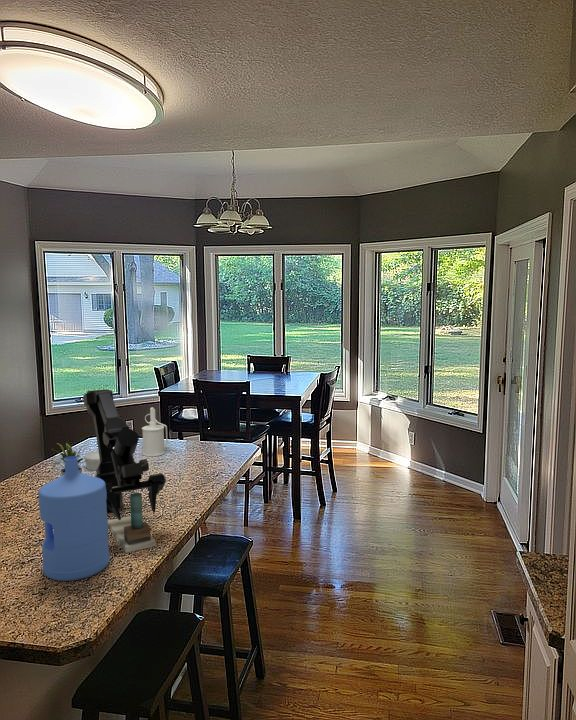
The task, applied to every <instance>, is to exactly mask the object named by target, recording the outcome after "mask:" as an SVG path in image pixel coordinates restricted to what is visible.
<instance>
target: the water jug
mask: <svg viewBox="0 0 576 720" xmlns="http://www.w3.org/2000/svg"><path fill="white" fill-rule="evenodd" d="M64 460H65V464H64V465H65V466H64V468H65V474H64V475H63V476H62V475H61V476H59V477H58V478H57V477H56V478H55V479H53V480H52V481H49V482H47V483H45V484H44V485H42V486H41V487H40V489H39V490H38V508H39V516H40V517H39V519H40V520H41V521H43V522H44V536H45V538H44V540H43V542H42V544H41V549H42V550H41V552H42V553H41V554H42V562H41V563H42V572H43V574H44V575H45V576H46V577H47V578H49V579H51V580H54V581H59V582H60V581H61V582H71V581H79V580H84V579H86V578H90V577H93V576H94V575H96V574H99V573H100V572H101V571H103V570H104V569H105V568H106V567H107V566H108V565H109V562H110V560H111V558H110V549H109V527H108V520H109V519H108V512H107V505H106V499H107V492H106V485H105V482H104V481H103V480H102V479H100V478H97V477H95V476H93V475H89V474H86V473H85V474H84V473H83V472H82V473H79V471H78V466H79V465H80V464H79V463H78V460H79V457H77V455H76V456H70V457H66V458H64ZM79 467H80V466H79Z"/></svg>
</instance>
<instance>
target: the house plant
mask: <svg viewBox="0 0 576 720" xmlns="http://www.w3.org/2000/svg"><path fill="white" fill-rule="evenodd" d="M56 444H57V445H58V446H60V449H61V450H62V452H59V455H60V456H61V457H60V458H59V460H62V461H63V462H61V461H57V462H54V464H53V465H52V467H53V466H56V465H57V464H58V465H60V466H62V465H61V464H63V465H64V466H62V467H63V468H62V469H61V470H60V474H61V476H63V475H64V474H65V460H64V458H66V457H70V456H77V457H78V464H79V463H81V464H83V463H84V462H85V459H84V457H83V458H79V457H80V456H82V455H83V454H82V453H83V452H84V451H85V450H86V449H88V448H89V447H91V446H86V447H85V448H84V449H83V450H82V448H83V446H84V445H81V447H80V448H79V450H78V452H77V451H73V448H72V447H73V445H69V444H68V442H66V443H65V448H66V449H65V448H64V446H63V445H62V444H60V443H57V442H56ZM81 450H82V451H81ZM52 451H53V452H56V454H58V451H56V450H55V449H53V448H52ZM79 453H80V454H79ZM83 460H84V461H83ZM86 461H87V460H86ZM85 463H86V462H85ZM81 464H79V466H78V471H79V473H82V474H83V472H82V471H83V467H82V466H81Z"/></svg>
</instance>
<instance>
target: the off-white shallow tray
mask: <svg viewBox="0 0 576 720" xmlns="http://www.w3.org/2000/svg"><path fill="white" fill-rule="evenodd" d="M107 520H108V530H110V531H111V534H113V536H114V538H115V539H116V540H117V542H118V543H119V544H120V547H121V548H122V549H123V551H124V552H125V554H127V553H131V552H135V551H139V550H144V549H147V548H151V547H156V545H157V544H156V543H157V542H156V541H157V540H156V539H155V538H154V537H153V535H151V540H147V541H142V542H138V543H134V544H130V545H128V543H127V542H126V541H125V539H124V527H125V526H130V525H131V515H128V516H124V517H123V516H121V520H118V518H117V517H116V518H114V519H107Z"/></svg>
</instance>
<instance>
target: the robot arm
mask: <svg viewBox="0 0 576 720" xmlns="http://www.w3.org/2000/svg"><path fill="white" fill-rule="evenodd" d="M113 394H114V393H113V390H112V389H106V388H105V389H93V390H87V391H86V393H85V394H83V397H82V398H83V401H82V402H83V404H84V406H85V407H86V412H87V413H88V414H89V415H90V416H91V418H93V425H94V431H95V432H94V433H95V437H96V443H97V451H99V457H100V463H99V466H98V468H97V470H96V471H95V473H96V474H95V476H94V477H97V478H100V479H102V480H103V481H104V482H105V485H106V492H107V499H106V505H107V513H112V514H113V515H114V516H115V517H116V519H117V518H118V520H121V518H122V516H121V512H120V509H121V508H122V506H124V500H123V498H124V497H123V493H125V492H126V493H127V492H131V491H137V490H143V489H147V491H148V493H147V494H148V500H149V504H150V508H151V511H152V513H153V514H155V513H156V508H157V507H156V505H157V496H158V494H160V492H161V491H162V490H164V486H165V484H166V482H167V480H166V476H165V475H164V474H163V473H161V472H160V473H156V474H150V475H149V477H148V479H147V480H142V479H143V476H142V475H144V472H148V471H149V470H150V467H149V462H148V459H147V458H145V459H144V458H143V459H140V460H139V461H138V462H136V461H135V458H134V454H135V452H136V449H137V446H138V443H139V440H140V437H139V434H138V432H136V431H135V430H133V429H131V428H130V426H129V425H128V423H127V422H126V421H125V420H123V419H121V418H120V415H119V413H118V411H117V407H116V404H115V402H114V395H113ZM140 480H142V481H140Z"/></svg>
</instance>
